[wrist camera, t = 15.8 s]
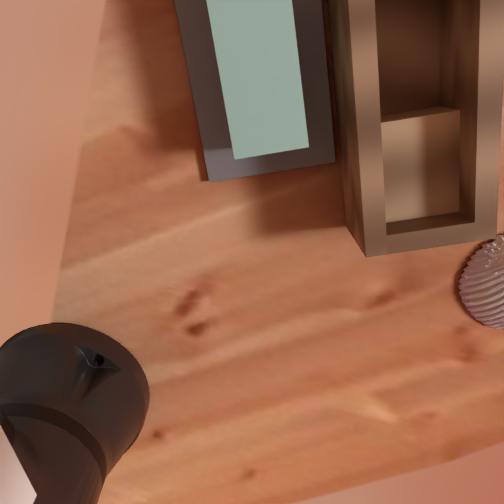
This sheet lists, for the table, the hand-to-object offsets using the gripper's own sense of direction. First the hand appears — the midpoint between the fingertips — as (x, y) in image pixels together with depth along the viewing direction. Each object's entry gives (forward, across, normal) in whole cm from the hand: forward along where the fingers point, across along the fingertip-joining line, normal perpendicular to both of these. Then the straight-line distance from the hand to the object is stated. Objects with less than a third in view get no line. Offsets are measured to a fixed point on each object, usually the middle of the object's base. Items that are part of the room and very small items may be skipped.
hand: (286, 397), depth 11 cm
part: (+27, +2, +8) cm, 28 cm away
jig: (+28, +12, +2) cm, 30 cm away
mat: (+28, +2, +6) cm, 29 cm away
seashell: (+28, +21, -15) cm, 38 cm away
